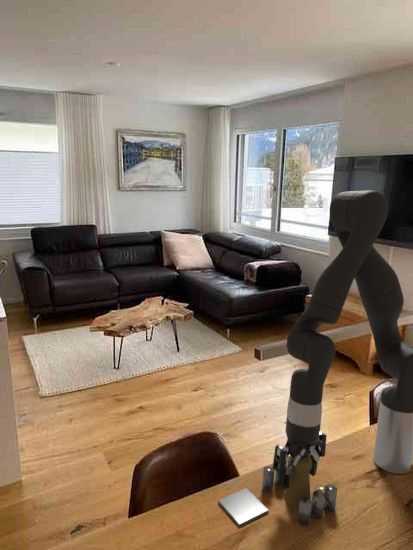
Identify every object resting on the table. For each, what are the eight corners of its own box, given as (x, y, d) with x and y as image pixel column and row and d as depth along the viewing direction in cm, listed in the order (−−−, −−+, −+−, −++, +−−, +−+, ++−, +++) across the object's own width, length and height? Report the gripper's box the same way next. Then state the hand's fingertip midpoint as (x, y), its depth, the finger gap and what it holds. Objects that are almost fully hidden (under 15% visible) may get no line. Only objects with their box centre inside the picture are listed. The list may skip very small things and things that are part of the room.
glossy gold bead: (318, 486, 101) (318, 481, 101) (330, 491, 99) (330, 487, 99) (313, 493, 99) (313, 488, 99) (325, 498, 97) (325, 494, 97)
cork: (311, 509, 93) (315, 466, 91) (284, 504, 95) (287, 462, 92) (310, 490, 99) (314, 449, 97) (284, 486, 100) (287, 446, 98)
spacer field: (292, 471, 106) (293, 454, 105) (337, 509, 94) (339, 490, 93) (260, 486, 100) (261, 468, 99) (303, 528, 88) (305, 508, 87)
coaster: (246, 490, 99) (246, 488, 99) (268, 512, 92) (268, 510, 92) (218, 502, 95) (218, 500, 94) (239, 526, 88) (239, 524, 88)
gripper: (313, 401, 100) (308, 461, 103) (268, 416, 92) (263, 480, 95) (338, 416, 93) (331, 479, 97) (292, 433, 86) (286, 501, 89)
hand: (297, 479), depth 96 cm, fingers open, 8 cm apart
